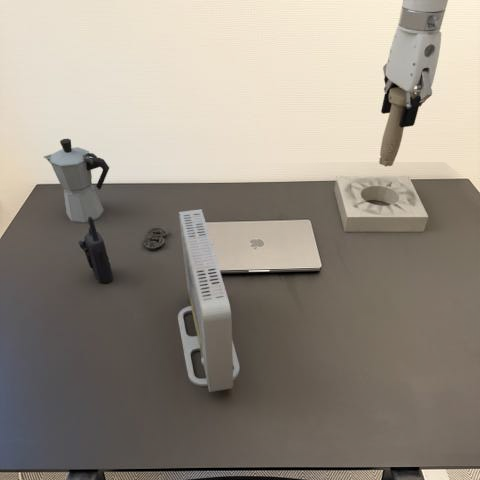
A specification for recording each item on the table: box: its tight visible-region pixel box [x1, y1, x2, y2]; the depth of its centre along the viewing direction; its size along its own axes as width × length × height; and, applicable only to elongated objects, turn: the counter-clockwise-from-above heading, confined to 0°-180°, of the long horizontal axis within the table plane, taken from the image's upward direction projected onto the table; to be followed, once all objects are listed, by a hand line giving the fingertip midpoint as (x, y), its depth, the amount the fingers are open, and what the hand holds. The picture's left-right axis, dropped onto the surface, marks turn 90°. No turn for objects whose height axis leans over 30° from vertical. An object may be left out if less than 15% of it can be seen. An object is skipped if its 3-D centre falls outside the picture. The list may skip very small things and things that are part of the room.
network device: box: [177, 209, 240, 393], centre depth 76 cm, size 26×9×20 cm, turn 12°
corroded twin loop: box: [141, 225, 168, 251], centre depth 104 cm, size 5×8×1 cm, turn 175°
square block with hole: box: [333, 175, 429, 233], centre depth 112 cm, size 18×18×4 cm
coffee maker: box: [43, 138, 110, 224], centre depth 106 cm, size 15×9×18 cm, turn 80°
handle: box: [378, 87, 416, 167], centre depth 99 cm, size 5×6×15 cm
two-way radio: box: [78, 216, 114, 284], centre depth 91 cm, size 6×4×15 cm
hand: (397, 118), depth 97 cm, fingers closed on handle, 6 cm apart
